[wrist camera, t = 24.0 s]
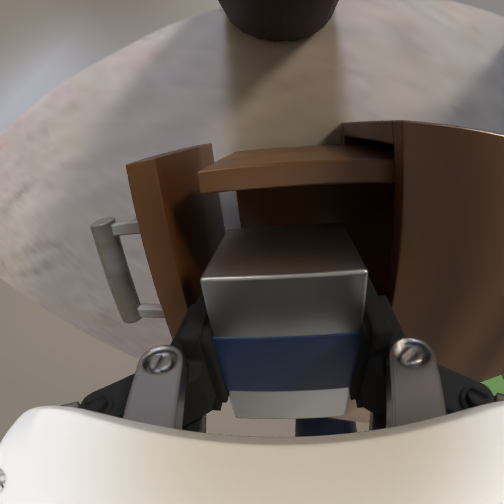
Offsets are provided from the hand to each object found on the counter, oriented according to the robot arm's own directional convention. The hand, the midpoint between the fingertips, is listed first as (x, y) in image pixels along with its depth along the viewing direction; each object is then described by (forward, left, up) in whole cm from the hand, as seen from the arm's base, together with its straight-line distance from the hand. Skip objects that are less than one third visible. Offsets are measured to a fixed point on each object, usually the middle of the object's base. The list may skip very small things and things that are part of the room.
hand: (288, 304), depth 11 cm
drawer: (0, +1, -8) cm, 8 cm away
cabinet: (0, -11, -9) cm, 14 cm away
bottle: (+15, -1, -9) cm, 18 cm away
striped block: (0, 0, 0) cm, 0 cm away
